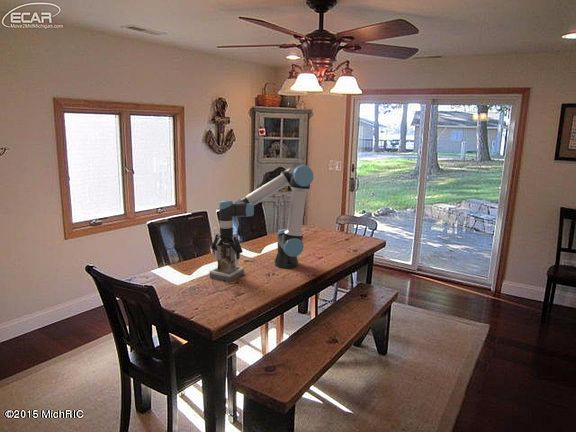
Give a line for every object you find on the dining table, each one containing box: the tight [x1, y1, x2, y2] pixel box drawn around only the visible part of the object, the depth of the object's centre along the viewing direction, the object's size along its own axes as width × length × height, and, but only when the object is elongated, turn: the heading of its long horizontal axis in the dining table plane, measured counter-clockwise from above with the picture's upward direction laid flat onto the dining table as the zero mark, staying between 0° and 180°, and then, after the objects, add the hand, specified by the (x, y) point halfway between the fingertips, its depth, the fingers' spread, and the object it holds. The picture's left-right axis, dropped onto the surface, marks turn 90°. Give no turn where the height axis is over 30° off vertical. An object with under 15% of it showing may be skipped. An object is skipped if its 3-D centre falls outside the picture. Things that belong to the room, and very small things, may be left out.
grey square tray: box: [209, 265, 245, 282], centre depth 242 cm, size 14×15×4 cm
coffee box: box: [216, 243, 237, 273], centre depth 241 cm, size 9×6×16 cm
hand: (226, 262), depth 241 cm, fingers open, 13 cm apart
